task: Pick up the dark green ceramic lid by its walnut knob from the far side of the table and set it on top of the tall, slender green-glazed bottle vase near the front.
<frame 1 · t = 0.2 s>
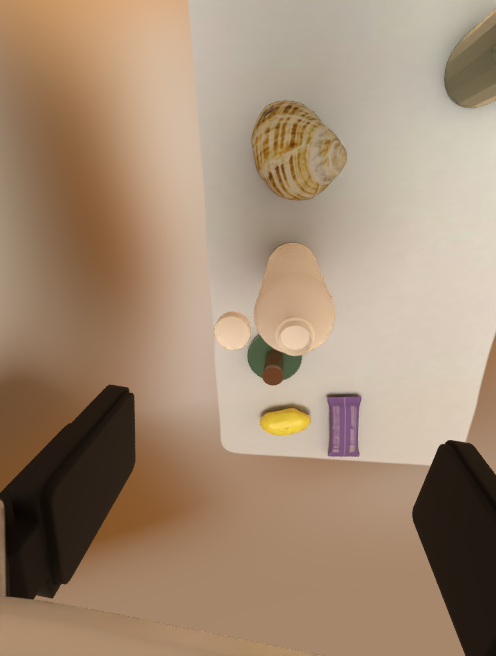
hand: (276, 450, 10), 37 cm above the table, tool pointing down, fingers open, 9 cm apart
snack package: (326, 427, 53), point 1 cm above the table
seashell: (296, 155, 40), on the table
lid: (274, 355, 49), point 1 cm above the table
lemon: (285, 414, 54), on the table
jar: (479, 69, 35), on the table
water bottle: (283, 265, 45), on the table
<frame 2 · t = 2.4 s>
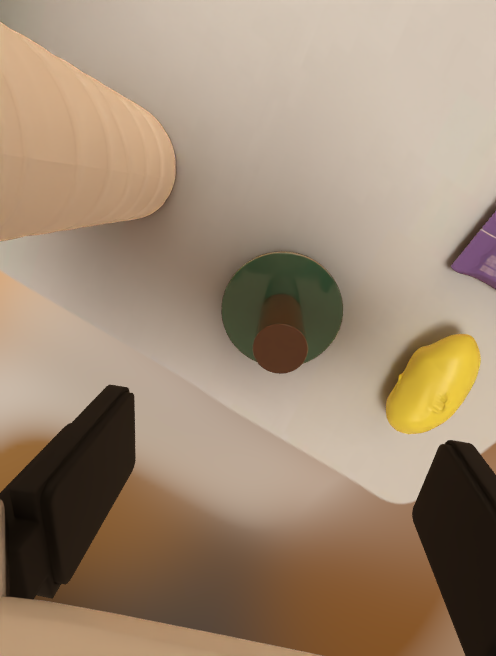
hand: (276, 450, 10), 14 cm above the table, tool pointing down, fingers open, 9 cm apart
lid: (281, 310, 22), point 1 cm above the table
lemon: (419, 371, 24), on the table
water bottle: (119, 179, 21), on the table
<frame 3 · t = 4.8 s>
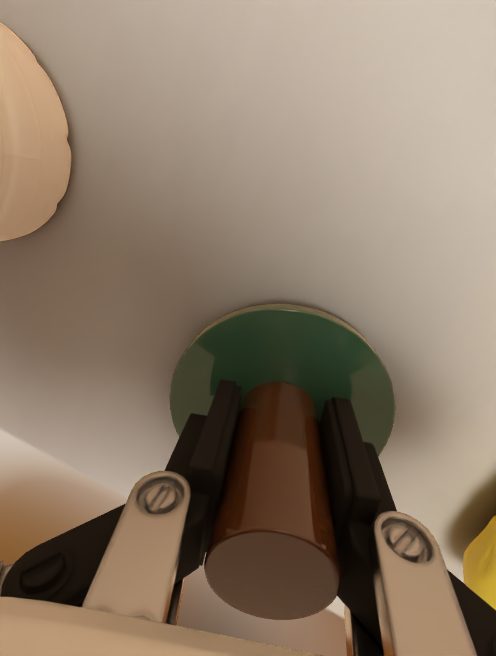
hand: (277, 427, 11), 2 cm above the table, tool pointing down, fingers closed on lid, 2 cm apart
lid: (278, 405, 12), point 1 cm above the table, touching gripper
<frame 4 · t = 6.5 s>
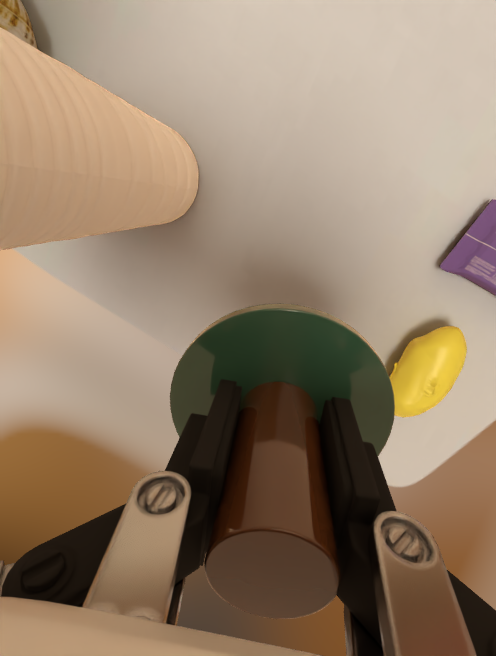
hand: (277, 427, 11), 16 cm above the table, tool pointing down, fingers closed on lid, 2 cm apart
lid: (278, 405, 12), point 14 cm above the table, touching gripper
lemon: (414, 361, 26), on the table
water bottle: (148, 189, 24), on the table
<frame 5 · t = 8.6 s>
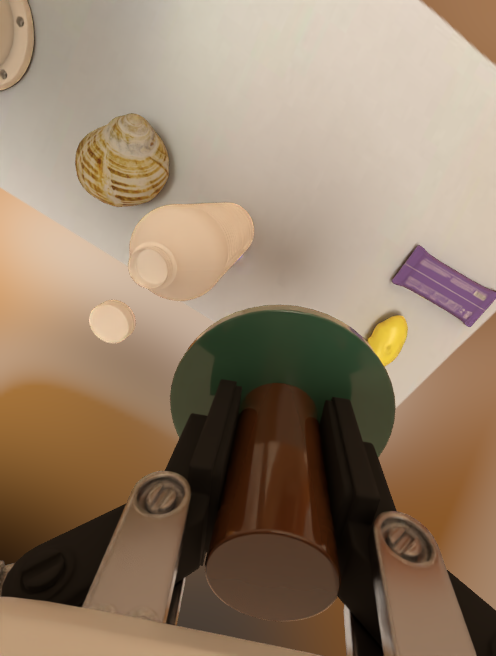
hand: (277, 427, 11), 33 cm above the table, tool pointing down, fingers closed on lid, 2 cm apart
snack package: (429, 306, 40), point 1 cm above the table
seashell: (134, 164, 40), on the table
lid: (278, 406, 12), point 31 cm above the table, touching gripper
lemon: (380, 337, 43), on the table
water bottle: (223, 237, 42), on the table
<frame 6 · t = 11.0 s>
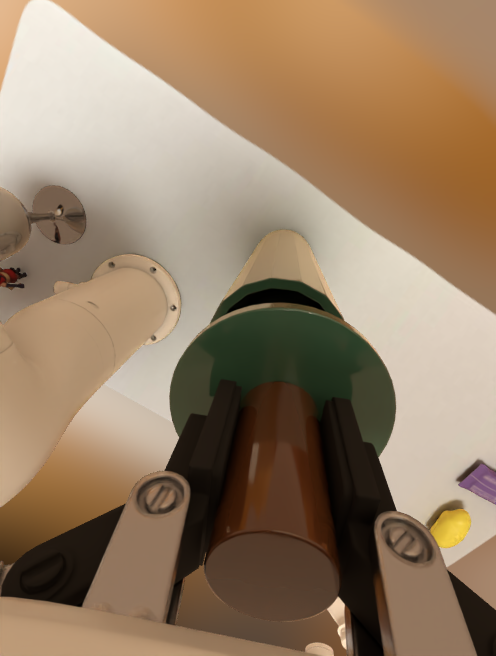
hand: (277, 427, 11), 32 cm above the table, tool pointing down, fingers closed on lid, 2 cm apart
snack package: (488, 502, 50), point 1 cm above the table
lid: (278, 405, 12), point 31 cm above the table, touching gripper
wine glass: (60, 215, 42), on the table
lemon: (444, 516, 53), on the table
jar: (282, 258, 41), on the table
figurine: (20, 277, 46), on the table
water bottle: (319, 444, 51), on the table
when the fingers open (28 cm above the table, at t = 12.4 s): lid stays where it is, resting on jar.
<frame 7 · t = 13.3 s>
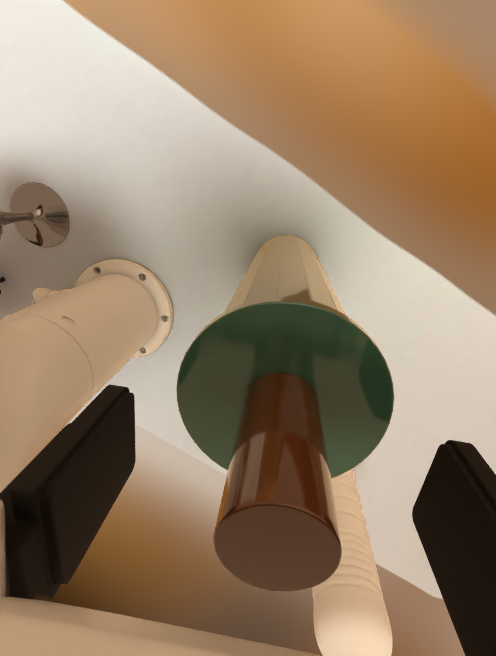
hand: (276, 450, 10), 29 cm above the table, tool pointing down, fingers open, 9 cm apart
lid: (281, 396, 13), point 26 cm above the table, touching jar
wine glass: (41, 215, 39), on the table
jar: (285, 266, 37), on the table
water bottle: (321, 465, 47), on the table
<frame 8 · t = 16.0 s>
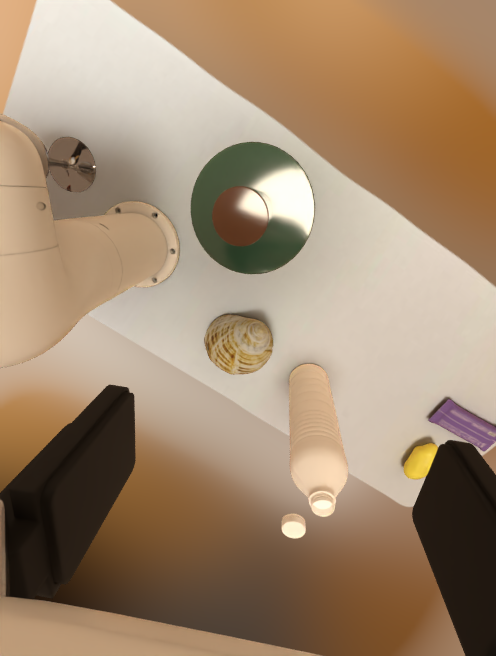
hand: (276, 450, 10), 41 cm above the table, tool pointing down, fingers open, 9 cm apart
snack package: (455, 437, 55), point 1 cm above the table
seashell: (242, 335, 54), on the table
lid: (252, 212, 22), point 26 cm above the table, touching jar
wine glass: (72, 165, 47), on the table
lemon: (417, 452, 59), on the table
water bottle: (303, 383, 56), on the table
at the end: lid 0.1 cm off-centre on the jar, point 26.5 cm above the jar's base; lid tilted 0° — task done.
